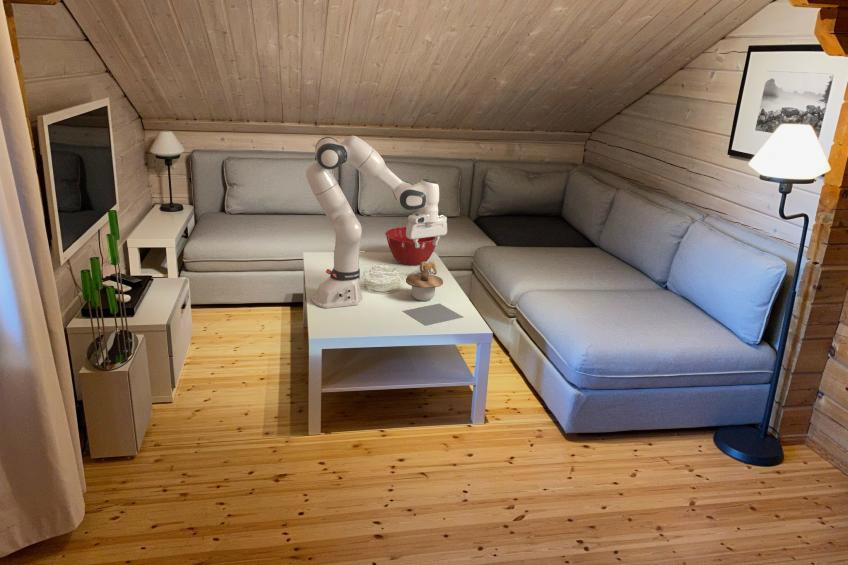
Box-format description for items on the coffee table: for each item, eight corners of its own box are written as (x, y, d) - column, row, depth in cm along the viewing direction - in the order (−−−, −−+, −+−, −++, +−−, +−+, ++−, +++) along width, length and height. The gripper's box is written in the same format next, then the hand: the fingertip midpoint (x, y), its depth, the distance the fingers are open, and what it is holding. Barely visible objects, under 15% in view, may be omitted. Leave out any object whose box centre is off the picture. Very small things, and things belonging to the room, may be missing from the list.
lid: (419, 290, 293) (420, 280, 291) (398, 278, 306) (399, 268, 304) (450, 284, 302) (451, 274, 300) (428, 273, 315) (429, 263, 313)
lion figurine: (426, 281, 329) (426, 263, 326) (416, 279, 331) (417, 261, 328) (438, 273, 341) (439, 256, 338) (429, 271, 344) (430, 254, 341)
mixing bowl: (433, 272, 342) (435, 243, 337) (379, 266, 346) (380, 238, 341) (440, 256, 369) (442, 229, 363) (390, 251, 372) (391, 224, 367)
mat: (425, 326, 275) (425, 325, 275) (402, 311, 289) (402, 311, 289) (463, 318, 286) (463, 317, 286) (439, 304, 300) (439, 303, 300)
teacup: (432, 304, 299) (433, 287, 296) (408, 301, 301) (409, 285, 298) (437, 294, 312) (438, 278, 309) (414, 291, 314) (415, 275, 311)
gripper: (442, 212, 302) (440, 242, 307) (404, 216, 291) (403, 247, 295) (451, 215, 297) (448, 245, 302) (412, 220, 286) (411, 250, 290)
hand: (426, 246), depth 298 cm, fingers open, 8 cm apart
